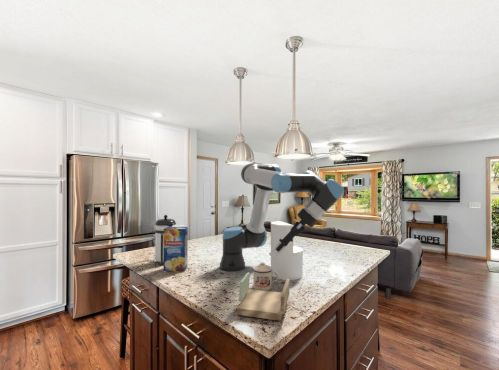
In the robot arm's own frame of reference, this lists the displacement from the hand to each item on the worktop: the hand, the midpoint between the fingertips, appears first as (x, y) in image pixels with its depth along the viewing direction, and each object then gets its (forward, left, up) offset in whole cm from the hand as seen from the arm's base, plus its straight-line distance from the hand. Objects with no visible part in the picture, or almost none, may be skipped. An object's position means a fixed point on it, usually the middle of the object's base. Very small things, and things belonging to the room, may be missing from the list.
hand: (274, 253), depth 100 cm
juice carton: (-69, -5, -21) cm, 72 cm away
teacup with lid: (-15, +12, -21) cm, 28 cm away
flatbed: (-2, -4, -21) cm, 21 cm away
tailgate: (-9, -8, -18) cm, 22 cm away
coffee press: (-88, -3, -21) cm, 91 cm away
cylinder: (-19, +34, -21) cm, 44 cm away
